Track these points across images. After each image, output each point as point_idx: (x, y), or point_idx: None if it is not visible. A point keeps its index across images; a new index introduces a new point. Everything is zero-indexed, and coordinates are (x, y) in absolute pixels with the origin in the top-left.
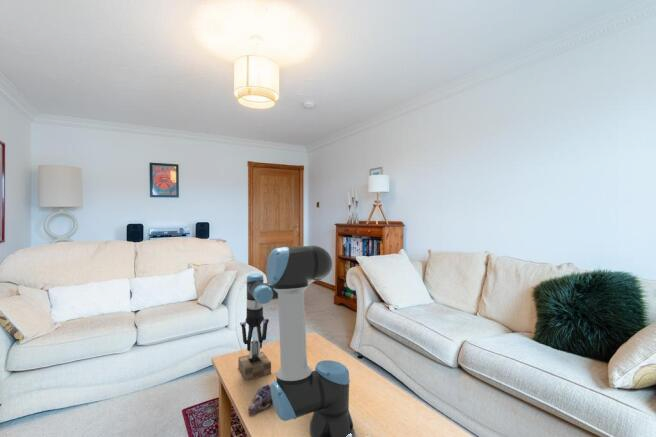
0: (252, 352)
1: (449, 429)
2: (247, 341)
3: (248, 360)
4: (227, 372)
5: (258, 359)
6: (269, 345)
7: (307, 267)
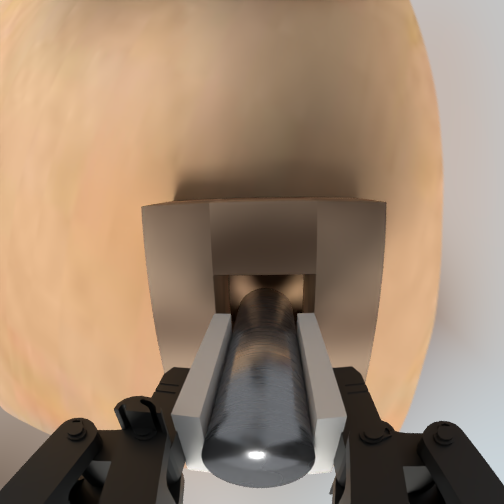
0: (295, 351)
1: None
2: (407, 466)
3: None
4: (411, 331)
5: None
6: None
7: None
